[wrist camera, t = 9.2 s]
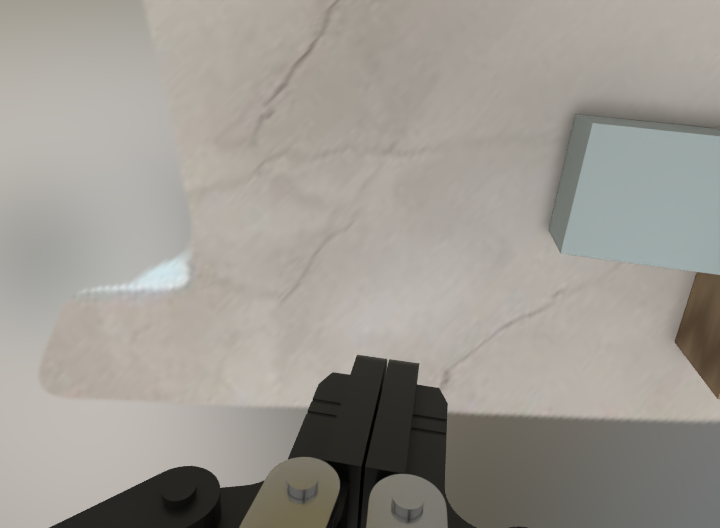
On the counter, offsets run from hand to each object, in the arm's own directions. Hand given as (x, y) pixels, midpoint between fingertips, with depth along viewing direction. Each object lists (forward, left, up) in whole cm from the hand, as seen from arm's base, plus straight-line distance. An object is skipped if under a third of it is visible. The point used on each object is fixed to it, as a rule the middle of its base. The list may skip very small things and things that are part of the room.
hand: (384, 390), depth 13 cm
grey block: (0, +14, -27) cm, 30 cm away
